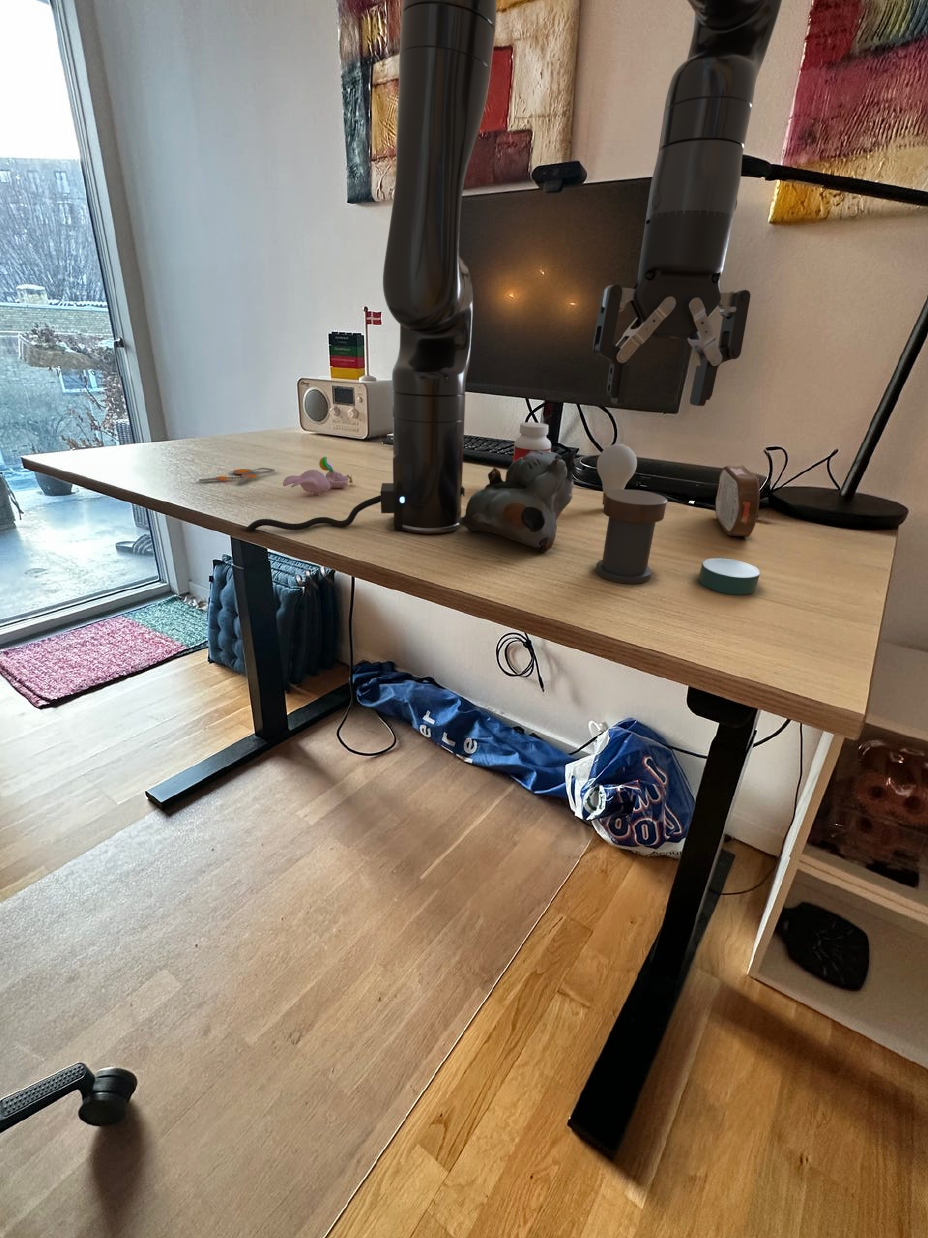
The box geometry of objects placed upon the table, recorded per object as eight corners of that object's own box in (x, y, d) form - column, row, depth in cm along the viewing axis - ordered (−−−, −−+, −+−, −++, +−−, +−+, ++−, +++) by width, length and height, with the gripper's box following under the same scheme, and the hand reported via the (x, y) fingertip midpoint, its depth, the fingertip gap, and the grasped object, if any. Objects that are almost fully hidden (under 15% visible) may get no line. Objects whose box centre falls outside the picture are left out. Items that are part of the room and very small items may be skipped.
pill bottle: (507, 486, 103) (511, 421, 98) (540, 486, 104) (546, 421, 99) (515, 495, 97) (521, 426, 92) (550, 495, 98) (558, 427, 93)
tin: (752, 545, 78) (768, 482, 74) (727, 542, 79) (742, 480, 75) (729, 514, 91) (742, 460, 88) (708, 513, 92) (720, 458, 88)
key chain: (249, 468, 108) (249, 463, 107) (281, 472, 105) (280, 468, 105) (195, 481, 97) (194, 476, 97) (229, 487, 95) (228, 482, 94)
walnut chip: (613, 523, 61) (616, 504, 60) (595, 506, 66) (598, 488, 65) (673, 523, 61) (677, 505, 60) (650, 506, 67) (653, 489, 66)
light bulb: (587, 511, 90) (596, 445, 86) (594, 502, 95) (603, 439, 91) (626, 516, 88) (637, 449, 84) (631, 507, 93) (642, 443, 89)
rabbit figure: (330, 490, 101) (270, 494, 88) (331, 454, 99) (270, 453, 86) (360, 495, 99) (304, 500, 86) (362, 458, 97) (305, 458, 84)
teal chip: (713, 594, 62) (717, 577, 61) (689, 573, 68) (693, 557, 67) (766, 594, 63) (771, 577, 62) (738, 573, 68) (742, 557, 67)
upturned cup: (604, 584, 64) (614, 522, 61) (589, 563, 69) (597, 506, 66) (659, 584, 64) (671, 523, 61) (639, 564, 70) (649, 507, 67)
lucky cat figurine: (452, 523, 81) (494, 430, 80) (528, 559, 83) (571, 468, 82) (464, 524, 66) (515, 410, 65) (556, 567, 68) (608, 457, 67)
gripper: (742, 224, 56) (706, 402, 64) (600, 216, 55) (579, 398, 62) (788, 210, 50) (741, 410, 57) (627, 201, 48) (600, 407, 55)
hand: (656, 404), depth 59 cm, fingers open, 8 cm apart
